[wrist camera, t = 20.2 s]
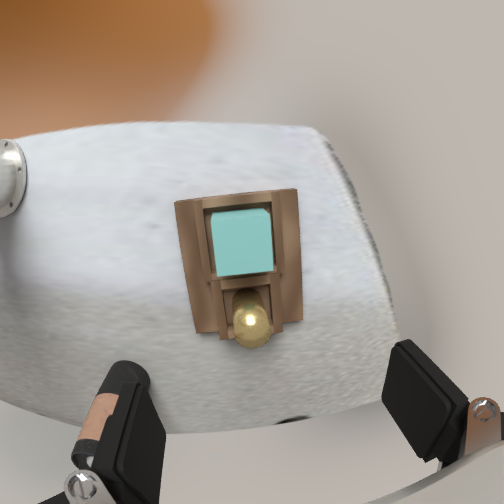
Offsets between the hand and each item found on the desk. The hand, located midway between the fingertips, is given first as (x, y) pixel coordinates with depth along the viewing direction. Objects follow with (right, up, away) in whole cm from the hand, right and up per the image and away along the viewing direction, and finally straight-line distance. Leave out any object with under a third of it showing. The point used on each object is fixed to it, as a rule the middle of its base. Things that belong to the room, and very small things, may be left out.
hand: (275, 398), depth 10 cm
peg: (-2, -1, +29) cm, 29 cm away
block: (-2, +7, +26) cm, 27 cm away
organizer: (-2, +4, +29) cm, 30 cm away
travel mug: (-21, -16, +33) cm, 42 cm away
